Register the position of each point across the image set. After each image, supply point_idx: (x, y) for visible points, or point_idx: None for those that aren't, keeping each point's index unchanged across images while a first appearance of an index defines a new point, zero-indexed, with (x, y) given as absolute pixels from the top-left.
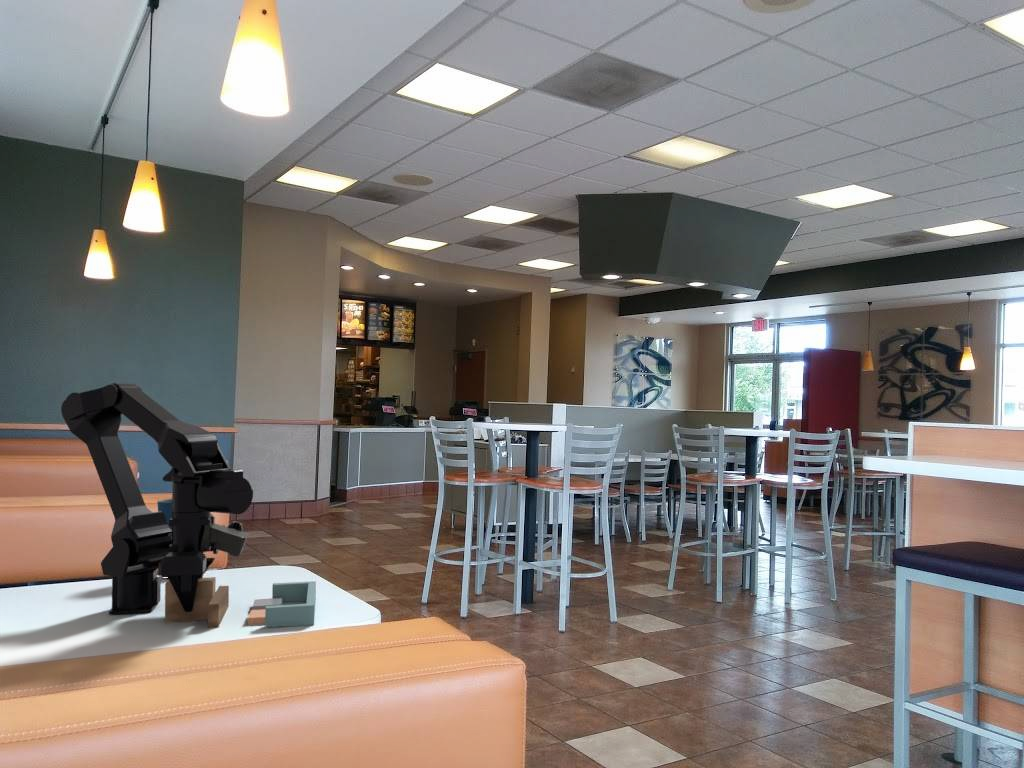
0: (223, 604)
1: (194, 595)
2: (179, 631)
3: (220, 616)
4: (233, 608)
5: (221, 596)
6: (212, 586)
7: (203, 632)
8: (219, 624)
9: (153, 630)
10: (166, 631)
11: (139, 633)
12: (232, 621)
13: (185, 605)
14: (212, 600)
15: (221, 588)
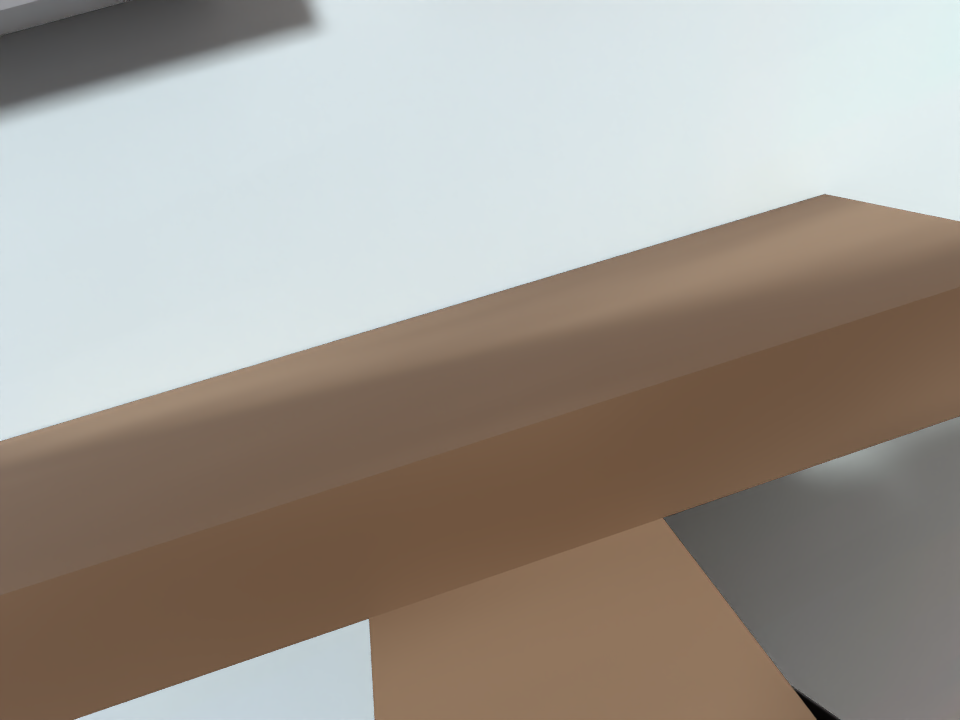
0: (493, 358)
1: (814, 704)
2: (869, 468)
3: (734, 249)
4: (50, 350)
5: (633, 412)
6: (768, 662)
7: None
8: (760, 215)
9: (801, 638)
10: (846, 552)
11: (848, 673)
12: (634, 121)
13: None
14: (851, 431)
15: (51, 673)
